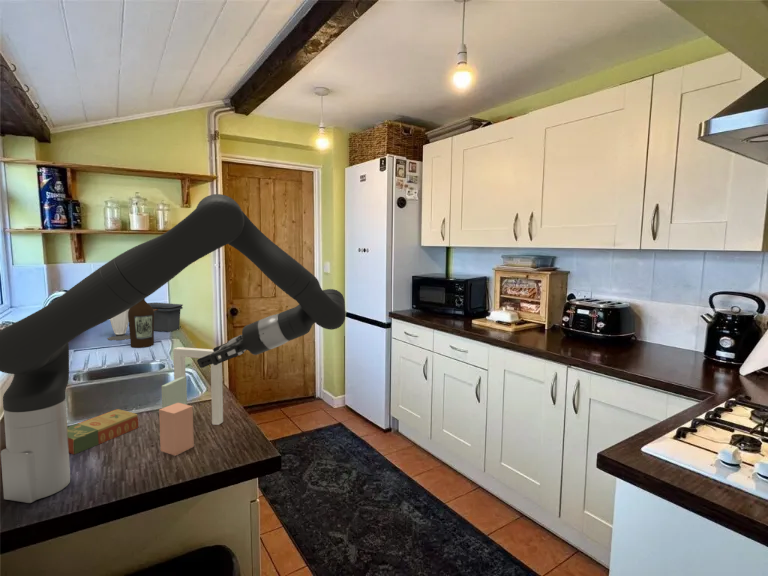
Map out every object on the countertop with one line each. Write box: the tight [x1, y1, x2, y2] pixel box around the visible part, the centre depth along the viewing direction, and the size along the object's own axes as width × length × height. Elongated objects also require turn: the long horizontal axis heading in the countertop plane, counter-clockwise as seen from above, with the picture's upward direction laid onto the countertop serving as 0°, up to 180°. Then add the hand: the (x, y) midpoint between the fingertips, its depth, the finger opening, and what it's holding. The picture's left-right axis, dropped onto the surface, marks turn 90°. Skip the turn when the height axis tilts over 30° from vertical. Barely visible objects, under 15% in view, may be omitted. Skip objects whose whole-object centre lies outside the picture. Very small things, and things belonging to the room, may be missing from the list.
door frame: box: [172, 346, 224, 426], centre depth 114 cm, size 2×13×20 cm, turn 79°
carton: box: [67, 408, 139, 455], centre depth 104 cm, size 8×16×4 cm, turn 157°
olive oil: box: [128, 298, 155, 349], centre depth 196 cm, size 11×11×25 cm
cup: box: [106, 308, 130, 341], centre depth 211 cm, size 12×12×22 cm
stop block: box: [158, 403, 195, 457], centre depth 99 cm, size 5×5×10 cm
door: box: [161, 376, 188, 409], centre depth 110 cm, size 1×8×12 cm, turn 169°
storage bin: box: [147, 302, 184, 333], centre depth 232 cm, size 21×16×14 cm
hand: (207, 357), depth 102 cm, fingers open, 8 cm apart
